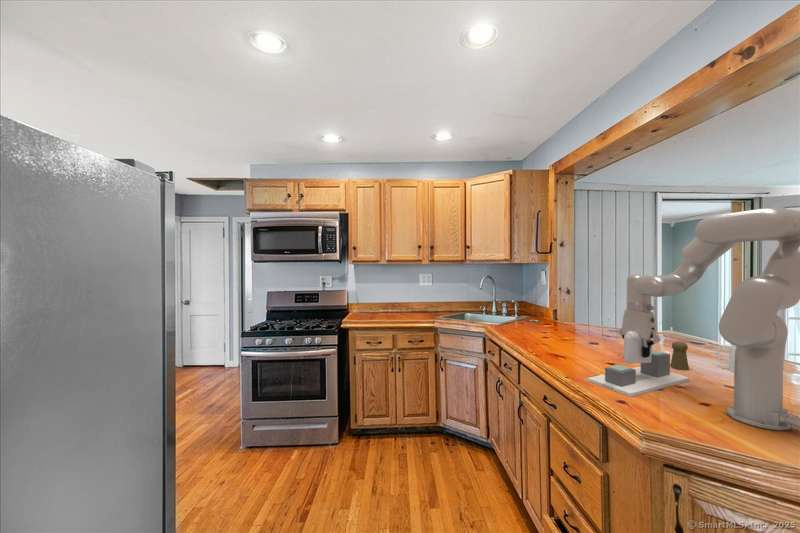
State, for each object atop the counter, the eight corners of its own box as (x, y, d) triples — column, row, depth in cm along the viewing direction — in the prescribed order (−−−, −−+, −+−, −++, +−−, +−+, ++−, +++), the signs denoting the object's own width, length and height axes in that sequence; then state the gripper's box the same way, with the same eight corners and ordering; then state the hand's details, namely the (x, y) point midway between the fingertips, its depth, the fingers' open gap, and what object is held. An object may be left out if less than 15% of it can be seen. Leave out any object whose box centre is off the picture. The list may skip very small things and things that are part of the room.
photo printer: (643, 359, 129) (643, 328, 129) (653, 362, 125) (654, 330, 125) (621, 361, 127) (621, 329, 126) (631, 365, 123) (632, 332, 122)
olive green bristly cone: (687, 367, 141) (687, 341, 141) (690, 371, 136) (690, 344, 136) (669, 364, 144) (669, 339, 144) (671, 368, 139) (671, 342, 139)
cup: (716, 365, 143) (717, 342, 142) (757, 372, 134) (758, 347, 134) (715, 370, 137) (716, 346, 137) (758, 377, 128) (758, 351, 128)
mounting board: (689, 380, 126) (689, 355, 125) (630, 397, 112) (630, 368, 111) (644, 368, 140) (644, 345, 140) (587, 381, 126) (587, 356, 126)
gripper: (670, 310, 119) (669, 360, 120) (622, 303, 135) (621, 348, 135) (657, 311, 116) (656, 363, 117) (610, 305, 132) (609, 350, 132)
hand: (637, 354), depth 126 cm, fingers closed on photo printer, 4 cm apart
